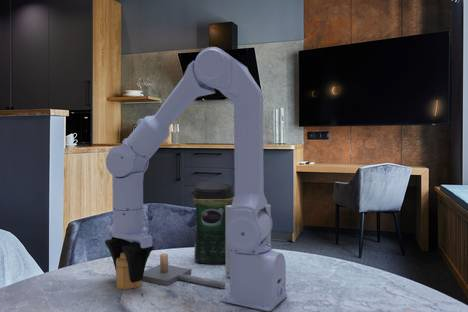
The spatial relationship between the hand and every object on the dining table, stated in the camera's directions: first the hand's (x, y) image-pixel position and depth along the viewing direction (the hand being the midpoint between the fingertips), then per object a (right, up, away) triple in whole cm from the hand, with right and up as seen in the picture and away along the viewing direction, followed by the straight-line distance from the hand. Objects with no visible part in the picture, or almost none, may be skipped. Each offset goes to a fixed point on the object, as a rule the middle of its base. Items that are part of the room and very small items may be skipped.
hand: (129, 277), depth 77 cm
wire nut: (0, -1, 0) cm, 1 cm away
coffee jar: (+16, -1, +16) cm, 23 cm away
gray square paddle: (+11, -1, +2) cm, 11 cm away
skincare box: (+23, -1, +5) cm, 24 cm away
